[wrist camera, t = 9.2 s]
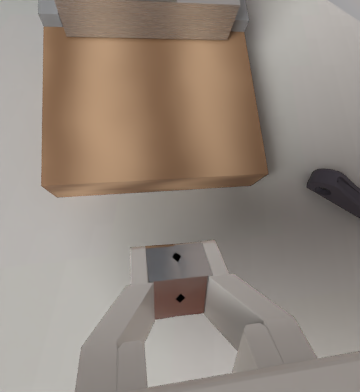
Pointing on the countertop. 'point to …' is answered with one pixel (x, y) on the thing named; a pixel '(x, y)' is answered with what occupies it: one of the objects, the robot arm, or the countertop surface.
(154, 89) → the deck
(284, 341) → the robot arm
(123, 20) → the scraper
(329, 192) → the bracket
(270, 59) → the countertop surface
